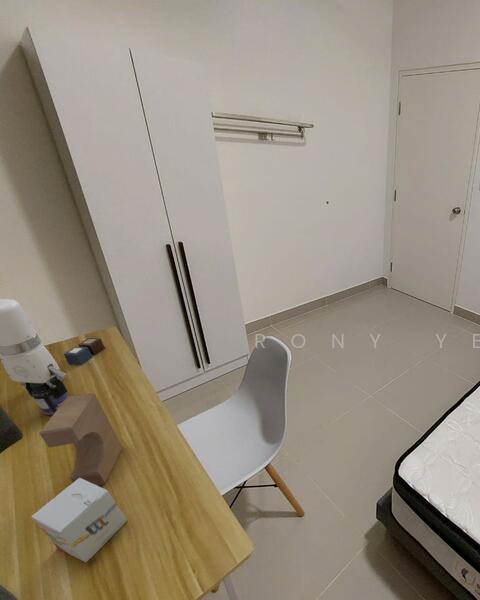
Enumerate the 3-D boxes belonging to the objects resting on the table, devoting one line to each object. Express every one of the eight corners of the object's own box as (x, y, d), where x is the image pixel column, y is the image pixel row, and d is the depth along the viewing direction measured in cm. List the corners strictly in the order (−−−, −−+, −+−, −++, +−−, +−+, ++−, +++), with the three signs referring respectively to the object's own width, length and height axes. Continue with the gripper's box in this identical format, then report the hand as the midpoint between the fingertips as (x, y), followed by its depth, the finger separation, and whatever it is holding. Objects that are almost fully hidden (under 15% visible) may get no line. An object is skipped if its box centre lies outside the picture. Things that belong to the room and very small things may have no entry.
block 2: (94, 355, 120) (89, 345, 117) (82, 354, 120) (77, 344, 117) (105, 348, 124) (100, 338, 121) (93, 347, 124) (88, 337, 121)
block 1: (81, 365, 115) (75, 354, 113) (68, 364, 115) (63, 353, 113) (92, 357, 119) (87, 346, 117) (80, 356, 119) (75, 346, 117)
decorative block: (104, 485, 78) (69, 428, 69) (75, 491, 77) (35, 433, 67) (124, 447, 88) (96, 391, 78) (99, 451, 86) (66, 395, 77)
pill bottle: (72, 398, 101) (57, 370, 96) (72, 410, 97) (56, 382, 92) (45, 407, 98) (27, 379, 93) (43, 420, 94) (24, 391, 89)
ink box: (55, 548, 67) (27, 515, 61) (100, 508, 74) (79, 475, 68) (85, 564, 65) (59, 532, 59) (128, 521, 72) (109, 488, 66)
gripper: (-30, 350, 83) (6, 401, 92) (36, 355, 83) (67, 406, 92) (3, 334, 90) (34, 383, 98) (64, 338, 90) (90, 387, 98)
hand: (49, 393), depth 95 cm, fingers closed on pill bottle, 6 cm apart
